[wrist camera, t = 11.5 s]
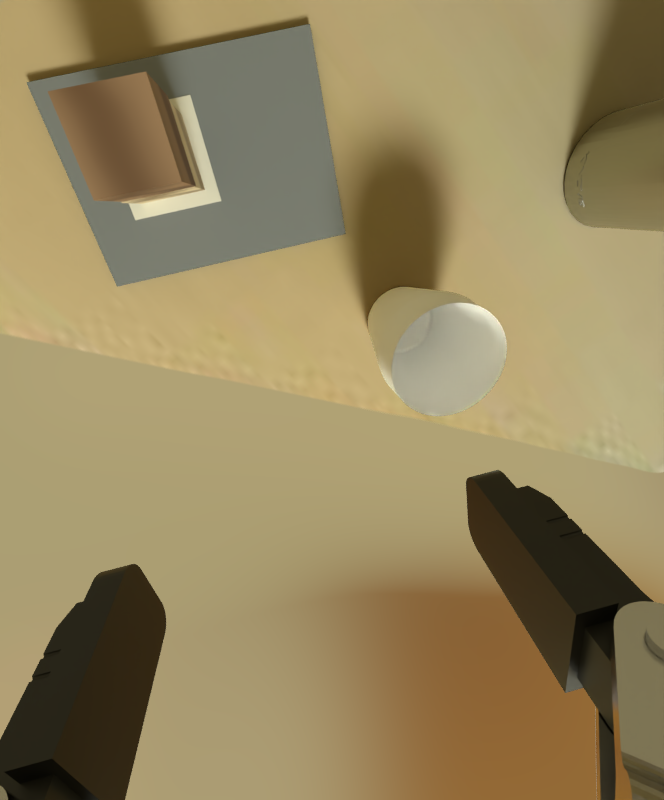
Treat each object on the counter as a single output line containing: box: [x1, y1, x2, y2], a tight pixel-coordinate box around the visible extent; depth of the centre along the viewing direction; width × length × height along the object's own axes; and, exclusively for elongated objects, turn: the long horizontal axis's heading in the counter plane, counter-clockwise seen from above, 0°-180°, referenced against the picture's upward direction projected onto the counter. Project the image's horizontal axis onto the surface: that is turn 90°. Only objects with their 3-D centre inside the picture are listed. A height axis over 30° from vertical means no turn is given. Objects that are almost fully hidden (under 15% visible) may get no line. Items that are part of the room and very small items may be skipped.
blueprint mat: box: [27, 24, 346, 286], centre depth 31 cm, size 20×14×1 cm
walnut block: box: [48, 72, 196, 202], centre depth 23 cm, size 5×5×5 cm
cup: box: [368, 287, 507, 416], centre depth 34 cm, size 9×9×12 cm
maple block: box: [121, 102, 205, 204], centre depth 28 cm, size 5×5×5 cm
